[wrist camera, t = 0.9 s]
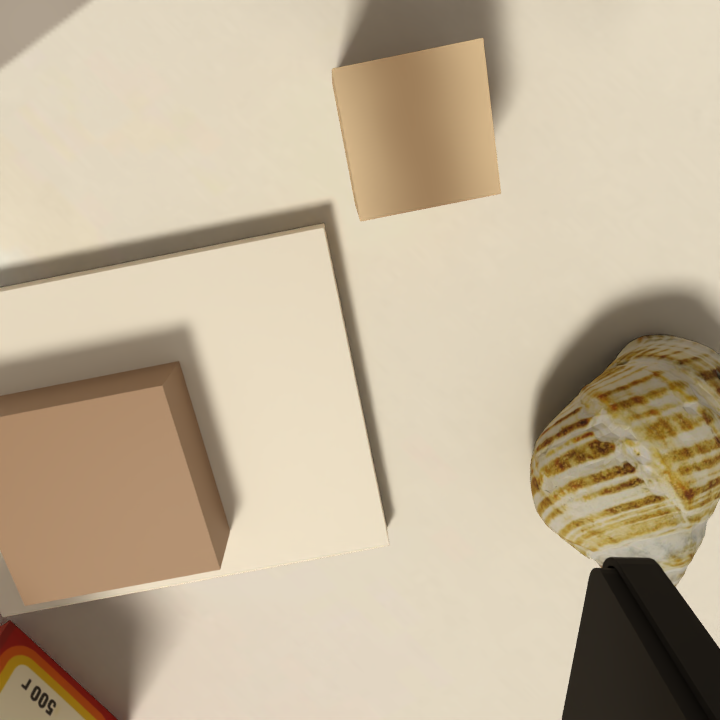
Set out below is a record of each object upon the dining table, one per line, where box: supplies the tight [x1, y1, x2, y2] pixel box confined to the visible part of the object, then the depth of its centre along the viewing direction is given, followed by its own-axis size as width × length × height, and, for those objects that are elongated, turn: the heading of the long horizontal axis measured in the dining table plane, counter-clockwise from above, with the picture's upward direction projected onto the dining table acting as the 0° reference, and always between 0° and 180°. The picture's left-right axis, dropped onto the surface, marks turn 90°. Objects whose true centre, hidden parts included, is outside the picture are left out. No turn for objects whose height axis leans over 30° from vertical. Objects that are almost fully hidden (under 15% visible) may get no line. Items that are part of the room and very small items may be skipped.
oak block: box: [332, 38, 501, 221], centre depth 25 cm, size 5×5×6 cm
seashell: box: [530, 335, 720, 586], centre depth 29 cm, size 10×10×10 cm
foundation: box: [0, 223, 389, 617], centre depth 29 cm, size 20×16×4 cm
